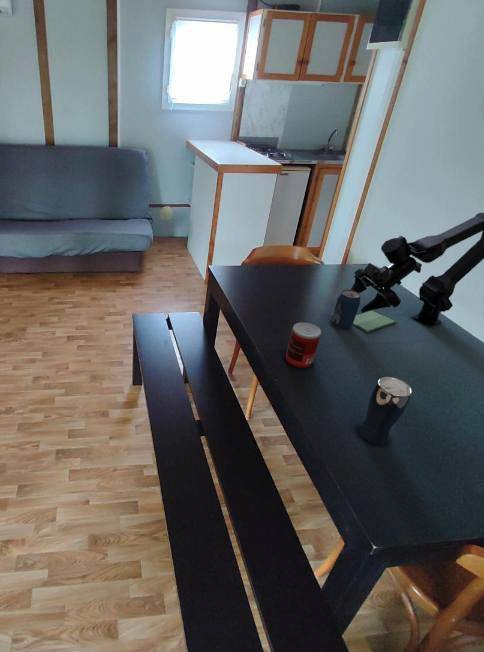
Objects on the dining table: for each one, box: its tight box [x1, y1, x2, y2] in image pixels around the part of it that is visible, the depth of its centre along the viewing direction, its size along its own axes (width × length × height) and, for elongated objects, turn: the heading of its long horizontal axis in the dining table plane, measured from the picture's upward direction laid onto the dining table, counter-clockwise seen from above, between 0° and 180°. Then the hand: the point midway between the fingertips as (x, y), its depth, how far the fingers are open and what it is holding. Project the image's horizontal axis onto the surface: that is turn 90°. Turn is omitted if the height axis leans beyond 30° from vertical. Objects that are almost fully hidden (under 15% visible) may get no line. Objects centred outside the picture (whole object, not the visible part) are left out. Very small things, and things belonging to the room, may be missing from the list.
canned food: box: [285, 322, 322, 369], centre depth 118 cm, size 8×8×11 cm
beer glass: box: [358, 376, 413, 446], centre depth 92 cm, size 7×7×15 cm
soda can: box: [330, 289, 362, 330], centre depth 135 cm, size 7×7×12 cm
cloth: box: [353, 310, 396, 333], centre depth 141 cm, size 14×9×1 cm, turn 117°
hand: (353, 304), depth 134 cm, fingers open, 9 cm apart
